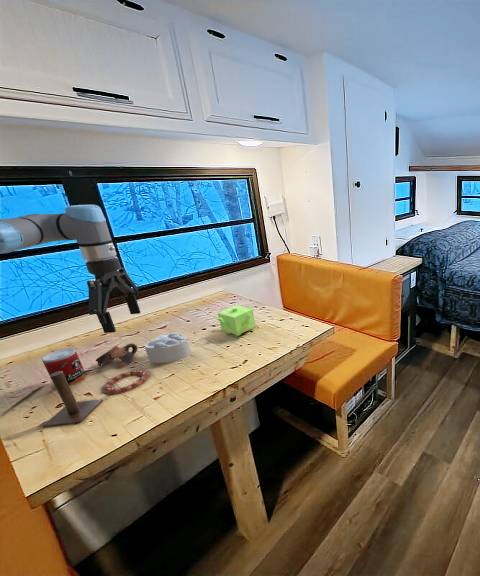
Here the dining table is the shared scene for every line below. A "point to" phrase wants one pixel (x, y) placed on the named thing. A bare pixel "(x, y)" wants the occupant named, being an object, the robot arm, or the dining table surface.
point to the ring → (110, 390)
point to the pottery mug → (118, 355)
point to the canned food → (65, 365)
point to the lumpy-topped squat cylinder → (168, 348)
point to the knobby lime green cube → (236, 320)
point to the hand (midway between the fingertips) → (123, 322)
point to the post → (69, 404)
